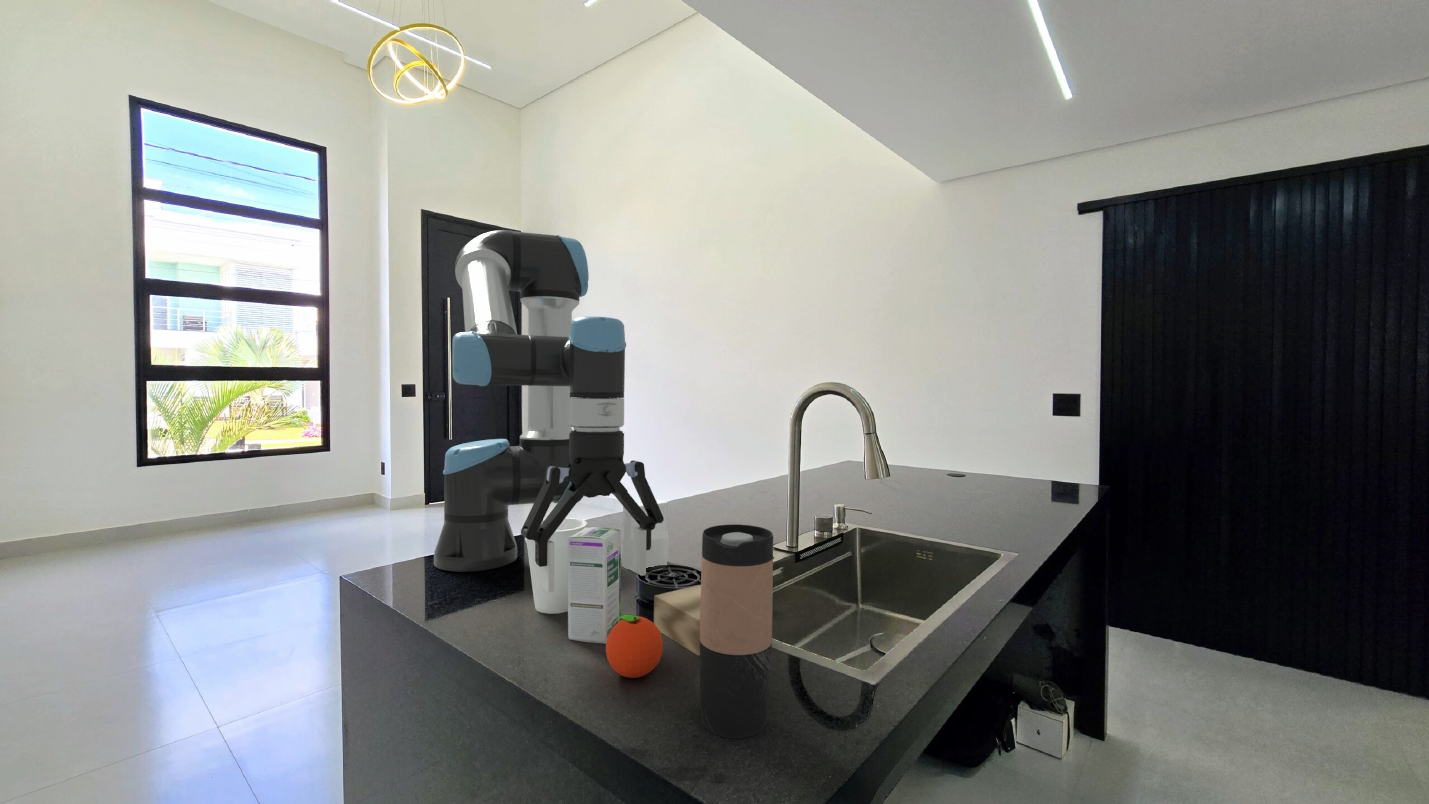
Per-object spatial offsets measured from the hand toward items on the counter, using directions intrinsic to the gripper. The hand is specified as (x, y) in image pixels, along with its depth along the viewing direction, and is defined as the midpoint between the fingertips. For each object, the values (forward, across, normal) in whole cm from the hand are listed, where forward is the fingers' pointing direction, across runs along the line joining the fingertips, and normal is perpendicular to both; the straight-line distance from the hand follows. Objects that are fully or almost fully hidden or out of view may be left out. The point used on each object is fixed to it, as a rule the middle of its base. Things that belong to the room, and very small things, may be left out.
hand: (595, 580), depth 85 cm
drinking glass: (+7, +21, +25) cm, 34 cm away
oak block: (+8, +14, -7) cm, 18 cm away
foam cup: (+8, -1, +13) cm, 15 cm away
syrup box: (+8, 0, 0) cm, 8 cm away
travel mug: (+8, +4, -28) cm, 29 cm away
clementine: (+8, -1, -13) cm, 15 cm away
